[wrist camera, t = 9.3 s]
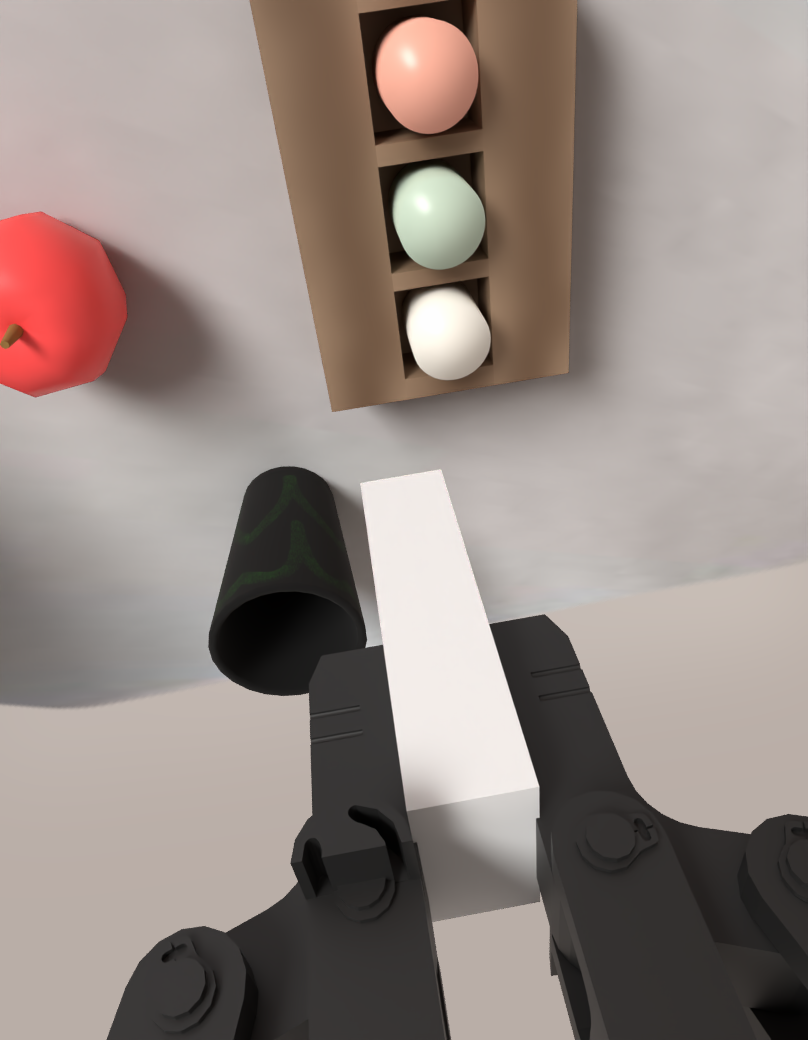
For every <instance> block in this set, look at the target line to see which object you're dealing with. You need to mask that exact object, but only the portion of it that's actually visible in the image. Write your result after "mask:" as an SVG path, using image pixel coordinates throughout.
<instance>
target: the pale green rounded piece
mask: <svg viewBox="0 0 808 1040" xmlns="http://www.w3.org/2000/svg"><path fill="white" fill-rule="evenodd" d="M388 208H389V214H390V217H391V219H392V222H393V224H394V227H395V229H396V231H397V234H398V236H399V238H400V241H401V243H402V245H403V247H404V249H405V251H406V252H407V254H408V255H409V256H410V257H411V258H412V259H413V260H414V261H415V262H417V263H418V264H420V265H422V266H424V267H426V268H430V269H437V270H442V269H449V268H452V267H455V266H457V265H459V264H461V263H463V262H464V261H466V260H467V259H468V258H469V257H470V256H471V255H472V254H473V253H474V252H475V250H476V249H477V247H478V246H479V244H480V242H481V240H482V237H483V234H484V229H485V212H484V208H483V205H482V203H481V200H480V199H479V197H478V195H477V194H476V193H475V191H474V190H473V189H472V188H471V187H470V186H469V184H468V183H467V182H466V181H465V180H464V179H463V178H462V176H461V175H460V174H459V173H458V172H457V171H456V170H455V169H454V168H453V167H452V166H451V165H450V164H448V163H446V162H444V161H442V160H439V159H429V160H422V161H416V162H412V163H410V164H408V165H407V166H405V167H404V168H403V169H402V170H401V171H400V172H399V173H398V174H397V176H396V177H395V179H394V181H393V183H392V185H391V188H390V191H389V196H388Z"/></svg>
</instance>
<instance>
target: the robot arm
mask: <svg viewBox="0 0 808 1040" xmlns="http://www.w3.org/2000/svg"><path fill="white" fill-rule="evenodd" d="M360 484H361V491H362V498H363V505H364V513H365V520H366V527H367V534H368V541H369V548H370V555H371V562H372V569H373V576H374V583H375V591H376V598H377V605H378V612H379V619H380V626H381V633H382V640H383V645H379V646H374V647H368V648H362V649H357V650H351V651H345V652H340V653H334V654H328V655H323V656H321V658H320V660H319V662H318V665H317V667H316V669H315V671H314V674H313V676H312V678H311V680H310V683H309V703H310V704H309V705H310V739H311V776H312V777H311V778H312V813H313V815H312V816H311V817H310V818H309V819H308V820H307V821H306V823H305V825H304V826H303V828H302V830H301V831H300V833H299V834H298V836H297V838H296V839H295V843H294V848H293V854H292V858H291V866H292V868H293V870H294V872H295V875H296V877H297V880H298V883H297V884H296V885H295V886H294V887H293V888H292V889H291V891H290V892H289V893H288V894H287V895H286V896H285V897H284V898H283V899H282V900H280V901H279V902H277V903H276V904H274V905H273V906H272V907H270V908H269V909H267V910H266V911H264V912H262V913H261V914H258V915H257V916H255V917H253V918H251V919H249V920H248V921H246V922H244V923H242V924H241V925H239V926H237V927H235V928H233V929H232V930H230V931H228V932H226V933H224V932H222V931H218V930H215V929H212V928H209V927H206V926H202V927H195V928H188V929H181V930H180V931H178V932H176V933H174V934H173V935H171V936H169V937H167V938H165V939H163V940H162V941H160V942H158V943H157V944H156V945H155V946H154V947H153V949H152V950H151V951H150V952H149V953H148V954H147V955H146V956H145V957H144V958H143V959H142V960H141V961H140V962H139V964H138V966H137V968H136V970H135V971H134V973H133V975H132V977H131V979H130V980H129V982H128V984H127V986H126V988H125V991H124V994H123V997H122V999H121V1002H120V1004H119V1007H118V1010H117V1013H116V1016H115V1018H114V1021H113V1024H112V1027H111V1029H110V1032H109V1035H108V1037H107V1040H451V1036H450V1030H449V1024H448V1017H447V1011H446V1004H445V998H444V991H443V984H442V978H441V972H440V967H439V962H438V958H437V951H436V945H435V938H434V932H433V926H432V922H435V921H440V920H445V919H451V918H456V917H461V916H466V915H472V914H477V913H482V912H488V911H493V910H498V909H504V908H509V907H514V906H520V905H525V904H530V903H535V902H540V892H541V895H542V899H543V903H544V906H545V910H546V914H547V917H548V921H549V925H550V969H551V976H553V975H558V978H559V981H560V985H561V989H562V992H563V996H564V1000H565V1004H566V1008H567V1011H568V1015H569V1018H570V1023H571V1026H572V1030H573V1034H574V1037H575V1040H808V817H806V816H798V815H791V814H787V815H783V816H778V817H774V818H769V819H766V820H765V821H764V822H763V823H762V824H760V825H759V826H758V827H757V828H756V829H755V830H753V831H752V833H751V834H744V833H738V832H730V831H723V830H716V829H709V828H702V827H696V826H692V825H688V824H684V823H680V822H678V821H676V820H674V819H671V818H669V817H667V816H665V815H663V814H661V813H660V812H658V811H657V810H656V809H655V808H653V807H652V806H650V805H649V804H647V802H646V801H645V800H644V799H643V798H642V797H641V796H640V795H639V794H638V792H636V790H635V788H634V787H633V785H632V783H631V782H630V780H629V778H628V776H627V774H626V772H625V769H624V767H623V765H622V762H621V760H620V757H619V755H618V753H617V750H616V748H615V746H614V743H613V741H612V739H611V736H610V734H609V732H608V729H607V727H606V724H605V722H604V720H603V718H602V715H601V713H600V710H599V708H598V706H597V703H596V701H595V699H594V696H593V694H592V692H590V688H589V684H588V682H587V680H586V678H585V675H584V673H583V670H581V668H580V663H579V661H578V659H577V656H576V654H575V651H574V649H573V647H572V644H571V642H570V640H569V638H568V636H567V635H566V634H565V633H564V632H563V631H562V630H561V629H560V628H559V627H558V626H557V625H555V624H554V623H553V622H552V621H551V620H550V619H549V618H548V617H547V616H546V615H545V614H544V615H539V616H533V617H527V618H522V619H516V620H510V621H505V622H499V623H493V624H489V623H488V619H487V616H486V613H485V610H484V607H483V603H482V600H481V597H480V594H479V590H478V587H477V584H476V581H475V578H474V574H473V571H472V568H471V565H470V561H469V558H468V555H467V552H466V548H465V545H464V542H463V539H462V536H461V532H460V529H459V526H458V523H457V519H456V516H455V513H454V510H453V506H452V503H451V500H450V497H449V494H448V490H447V487H446V484H445V481H444V477H443V474H442V471H441V469H440V470H434V471H428V472H422V473H416V474H410V475H405V476H399V477H393V478H387V479H381V480H375V481H369V482H363V483H360Z"/></svg>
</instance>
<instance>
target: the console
mask: <svg viewBox="0 0 808 1040" xmlns="http://www.w3.org/2000/svg"><path fill="white" fill-rule="evenodd" d="M250 5H251V10H252V15H253V20H254V25H255V30H256V35H257V40H258V45H259V49H260V54H261V59H262V64H263V69H264V74H265V79H266V84H267V89H268V94H269V99H270V104H271V109H272V114H273V119H274V124H275V129H276V134H277V139H278V144H279V149H280V154H281V159H282V164H283V169H284V174H285V179H286V184H287V189H288V194H289V199H290V204H291V209H292V214H293V219H294V224H295V229H296V234H297V239H298V244H299V249H300V254H301V259H302V264H303V269H304V274H305V279H306V283H307V288H308V293H309V298H310V303H311V308H312V313H313V318H314V323H315V328H316V333H317V338H318V343H319V348H320V353H321V358H322V363H323V368H324V373H325V378H326V383H327V388H328V393H329V398H330V403H331V408H332V412H336V411H342V410H348V409H354V408H360V407H366V406H372V405H378V404H384V403H390V402H396V401H402V400H408V399H414V398H420V397H426V396H432V395H438V394H444V393H450V392H456V391H462V390H468V389H474V388H480V387H486V386H492V385H499V384H505V383H511V382H517V381H523V380H529V379H535V378H541V377H547V376H553V375H559V374H565V373H569V331H570V289H571V246H572V203H573V160H574V118H575V75H576V32H577V0H250ZM410 15H422V16H426V17H430V18H433V19H437V20H441V21H445V22H447V23H449V24H451V25H453V26H455V27H456V28H457V29H459V30H460V31H461V32H462V33H463V34H464V35H465V36H466V38H467V39H468V41H469V42H470V44H471V46H472V48H473V50H474V53H475V55H476V59H477V64H478V86H477V90H476V94H475V97H474V100H473V102H472V104H471V106H470V108H469V110H468V111H467V113H466V114H465V115H464V116H463V118H462V119H461V120H460V121H459V122H458V123H456V124H455V125H454V126H452V127H451V128H449V129H447V130H445V131H442V132H439V133H434V134H422V133H418V132H415V131H412V130H410V129H408V128H406V127H405V126H403V125H402V124H401V123H400V122H399V121H398V120H397V119H396V118H395V117H394V116H393V114H392V113H391V112H390V111H389V109H388V108H387V107H386V105H385V104H384V103H383V101H382V100H381V99H380V97H379V95H378V93H377V91H376V89H375V86H374V83H373V78H372V57H373V52H374V49H375V46H376V44H377V41H378V40H379V38H380V36H381V35H382V33H383V32H384V30H385V29H386V28H387V27H388V26H389V25H391V24H392V23H393V22H395V21H396V20H398V19H400V18H403V17H405V16H410ZM429 159H439V160H442V161H444V162H446V163H448V164H450V165H451V166H452V167H453V168H454V169H455V170H456V171H457V172H458V173H459V174H460V175H461V176H462V178H463V179H464V180H465V181H466V182H467V183H468V184H469V186H470V187H471V188H472V189H473V190H474V191H475V193H476V194H477V195H478V197H479V199H480V200H481V203H482V205H483V208H484V212H485V229H484V234H483V237H482V240H481V242H480V244H479V246H478V247H477V249H476V250H475V252H474V253H473V254H472V255H471V256H470V257H469V258H468V259H467V260H466V261H464V262H463V263H461V264H459V265H457V266H455V267H452V268H449V269H442V270H437V269H430V268H426V267H424V266H422V265H420V264H418V263H417V262H415V261H414V260H413V259H412V258H411V257H410V256H409V255H408V254H407V252H406V251H405V249H404V247H403V245H402V243H401V241H400V238H399V236H398V234H397V231H396V229H395V227H394V224H393V222H392V219H391V217H390V214H389V208H388V196H389V191H390V188H391V185H392V183H393V181H394V179H395V177H396V176H397V174H398V173H399V172H400V171H401V170H402V169H403V168H404V167H405V166H407V165H408V164H410V163H412V162H416V161H422V160H429ZM457 281H460V282H461V283H462V284H463V285H464V286H465V287H466V288H467V290H468V291H469V293H470V295H471V296H472V298H473V300H474V302H475V303H476V305H477V307H478V309H479V310H480V312H481V314H482V316H483V317H484V319H485V321H486V322H487V325H488V327H489V330H490V335H491V343H490V348H489V352H488V354H487V356H486V358H485V360H484V361H483V363H482V364H481V365H480V366H479V367H478V368H477V369H476V370H475V371H474V372H472V373H471V374H469V375H467V376H465V377H463V378H460V379H455V380H441V379H437V378H434V377H432V376H430V375H428V374H426V373H425V372H424V371H423V370H422V369H421V368H420V367H419V365H418V364H417V362H416V360H415V357H414V354H413V351H412V348H411V345H410V342H409V339H408V336H407V333H406V330H405V327H404V324H403V321H402V306H403V302H404V299H405V297H406V295H407V294H408V292H409V291H410V290H411V289H414V288H420V287H426V286H432V285H439V284H445V283H451V282H457Z"/></svg>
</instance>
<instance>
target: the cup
mask: <svg viewBox="0 0 808 1040" xmlns="http://www.w3.org/2000/svg"><path fill="white" fill-rule="evenodd" d="M366 642H367V637H366V629H365V624H364V620H363V616H362V611H361V607H360V603H359V599H358V595H357V591H356V587H355V583H354V579H353V575H352V571H351V567H350V563H349V559H348V555H347V551H346V547H345V543H344V538H343V534H342V530H341V526H340V522H339V518H338V514H337V510H336V506H335V502H334V498H333V494H332V492H331V490H330V488H329V486H328V485H327V483H326V482H325V481H324V480H323V479H322V478H321V477H319V476H318V475H317V474H315V473H313V472H311V471H309V470H306V469H303V468H298V467H278V468H274V469H270V470H268V471H266V472H264V473H262V474H260V475H259V476H258V477H256V478H255V479H254V480H253V481H252V482H251V484H250V485H249V486H248V488H247V490H246V493H245V495H244V499H243V503H242V506H241V510H240V514H239V518H238V522H237V526H236V530H235V534H234V538H233V542H232V546H231V549H230V553H229V557H228V561H227V565H226V569H225V573H224V577H223V581H222V585H221V589H220V592H219V596H218V600H217V604H216V608H215V612H214V616H213V620H212V624H211V628H210V632H209V645H208V647H209V651H210V654H211V657H212V660H213V662H214V663H215V664H216V666H217V667H218V669H219V670H220V671H221V672H222V673H223V674H224V675H225V676H227V677H228V678H229V679H230V680H232V681H233V682H235V683H237V684H239V685H241V686H243V687H245V688H247V689H249V690H252V691H256V692H259V693H263V694H269V695H279V696H289V695H301V694H306V693H309V683H310V680H311V678H312V676H313V674H314V671H315V669H316V667H317V665H318V662H319V660H320V658H321V656H323V655H328V654H334V653H340V652H345V651H351V650H357V649H362V648H365V646H366Z"/></svg>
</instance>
